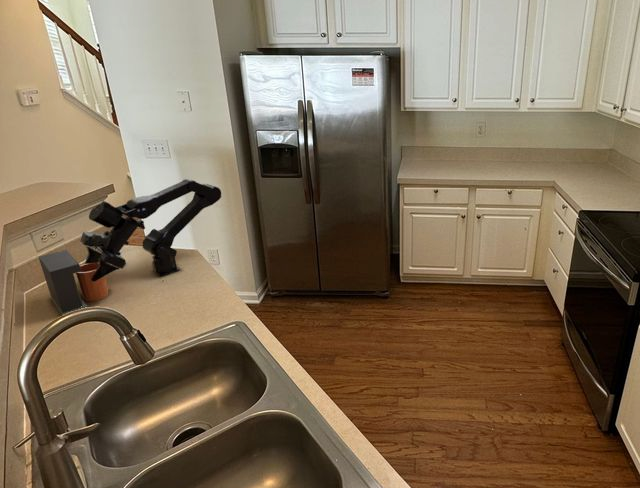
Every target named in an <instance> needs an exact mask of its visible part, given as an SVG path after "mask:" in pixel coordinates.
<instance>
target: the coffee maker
mask: <svg viewBox="0 0 640 488" xmlns="http://www.w3.org/2000/svg"><path fill="white" fill-rule="evenodd" d="M38 261H39V263H40V266H41V269H42V273H43V277H44V280H45V282H46V285H47V288H48V291H49V295H50V297H51V300H52V301H53V303H54V305H55V306H56V308H57V309H58V310H59V312H60V314H61V315H62V316H63V314H66V313H68V312H71V311H75V310H78V309H81V308H85V307H87V308H88V305H87V304H86V303H85V302H86V301H85V300H84V299H83V298H81V297H82V296H81V295H80V292H79V289H78V285H77V282H76V281H77V280H76V278H75V274H76V273H77V272H80V271H81V268H80V266H81V265H80V263H79V261H78V260H77V259H75V258H74V256H73V255H72V254H71V253H70V252H69V250H67V249H63V250H60V251H59V250H58V251H55V252H52V253H48V254H43V255H39V256H38ZM81 306H82V307H81Z"/></svg>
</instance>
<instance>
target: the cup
mask: <svg viewBox="0 0 640 488" xmlns="http://www.w3.org/2000/svg"><path fill="white" fill-rule="evenodd" d="M99 265H100V264H99V263H88V264H85V263H84V264H81V265H80V268H81V271H80V272H77V273H75V276H76V281H77V284H78V287H79V290H80V294H81V297H82V300H83V301H84V302H93V301H97V300H101V299H103V298H105V297H106V296H108V295H109V288H108V284H107V280H106V275H105V276H104V277H102V278H100V279H98V280H97V281H95V282H94V281H92V280H91V279H92V277H93V275H94V273H95V272H96V270H97V268H98V267H99Z"/></svg>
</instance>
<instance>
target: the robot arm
mask: <svg viewBox="0 0 640 488" xmlns="http://www.w3.org/2000/svg"><path fill="white" fill-rule="evenodd" d="M191 192H192V193H194V194H193V197H192V200H191V201H190V202H188V203H187V205H186V206H185V207H184V208H182V209H181V210H180V211H179V212H178V213H177V214H176V215H175V216H174V217H173V218H172V219H171V220H170V221H169V222H168V223H167V224H166V225H165V226H164V227H162V228H161V229H158V230H157V229H155V228H153V229H151V231H150V232H149V233H148V234H146V235H144V239H143V240H142V249H143V250H144V251H146V252H147V253H149V254H150V255H152V261H151V265H152V271H153V272H154V273H155V274H156V275H158V276H159V277H164V276H167V275H170V274H174V273H176V272H179V271H180V268H179V267H178V266H177V259H176V257H177V253H178V251H177V250H176V249H175V248H173V247H172V246H173V243H174V240H175V238H176V237H177V236H178V235H179V234H180V233H181V232H182V231H183V230H184V229H185V227H187V226H188V225H189V224H190V223H191V222H192V221H193V220H194V219H195V217H197V216H198V215H199V214H200V213H201V212H202V211H203V210H204V209H206V208H208V207H211V206H213V205H214V204H216V203H217V202H219V201H220V200H221V198H222V191H221V188H219V187H217V186H215V185H212V184H209V183H199V182H197V181H195V180H192V179H190V178H185V179H183V180H182V181H179V182H178V183H177V182H176V183H175V184H173V185H171V186H168V187H166V188H164V189H161V190H159V191H158V192H155V193H152V194H149V195H141V196H138V197H137V196H136V197H133V198H131V199H129V200H127V202H126V203H124V204H123V203H122V204H121V205H118V206H113V204H111V203H109V202H107V201H106V200H102V202H101V203H98V204H97V205H96V206H94V207H93V208H92V209H91V210H90V212H89V214H88V219H89V221H92V222H94V223H96V224H99V225H101V226H103V227H105V228H106V229H110V230H106V231H104V233H98V232H92V231H83V232H82V235H81V238H80V243H82V245H83V246H85V249H86V250H87V256H86V259H85V261H84V264H88V263H98V262H99V264H100V265H99V267H98V268H97V270H96V272H95V273H94V275H93V277H92V279H91V280H92V281H94V282H95V281H97V280H98V279H100V278H102V277H104V276H105V277H106V276H107V275H109V274H111V273H113V272H116V271H117V270H120V269H123V268H125V266H126V265H127V262H126V259H125V258H124V257H123V256H122V253H120V252H119V251H122V249H123V247H125V245H126V246H128V245H129V244H130V242H129V240H130V238H132V235H133V234H134V233H135V232H136V230H137V229H138V228H139V229H141V230H145V229H146V226H145V221H144V220H145V219H147V218H149V217H151V216H152V215H154V214H155V213H156V212H157V211H158V210H159V208H161V207H162V206H164V205H167V204H168V203H171V202H172V201H173V202H174V201H175V200H177V199H179V198H181V197H183V196H186V195H187V194H190V193H191ZM125 216H126V217H125ZM136 218H137V219H136ZM120 254H121V256H120Z"/></svg>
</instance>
